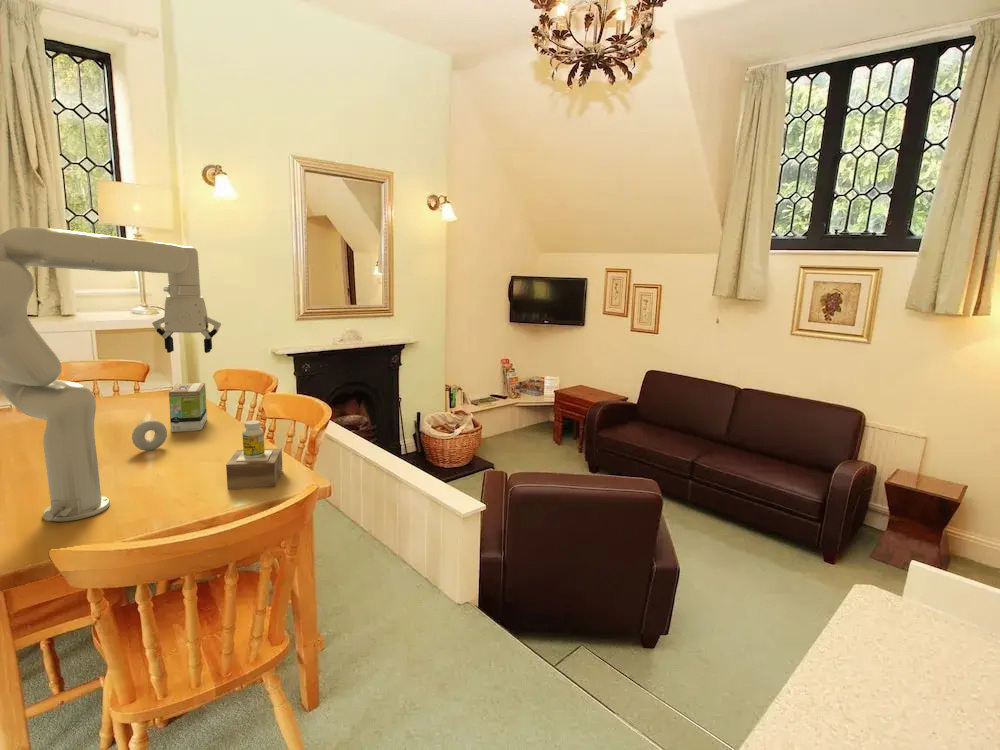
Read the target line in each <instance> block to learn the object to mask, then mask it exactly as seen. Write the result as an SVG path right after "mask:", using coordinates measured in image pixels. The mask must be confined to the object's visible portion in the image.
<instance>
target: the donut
mask: <svg viewBox="0 0 1000 750" xmlns="http://www.w3.org/2000/svg"><path fill="white" fill-rule="evenodd" d="M132 431H133V432H132V433H131V440H132V443H133V445H134V446H135V447H136V448H137V449H139V450H141V451H146V452H147V451H148V452H149V451H153V450H157V449H159V448H160V447H161V446H162V445H163V444H164V443H165V442H166V439H167V437H168V429H167V427H166V425H165V424H164V423H163V422H162V421H159V420H157V419H147V420H144V421H142V422H140V423H139V424H137V426H135V428H134V429H133V430H132ZM149 431H152V432H154V437H152V438H151V439H146V436H145V435H146V434H147V432H149Z"/></svg>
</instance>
